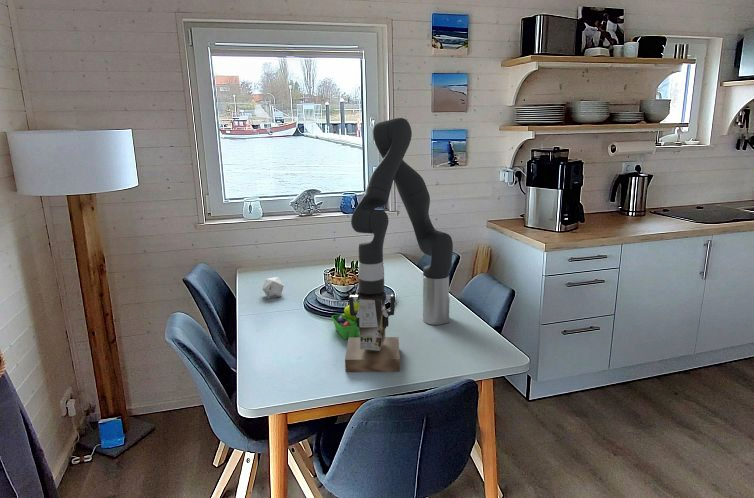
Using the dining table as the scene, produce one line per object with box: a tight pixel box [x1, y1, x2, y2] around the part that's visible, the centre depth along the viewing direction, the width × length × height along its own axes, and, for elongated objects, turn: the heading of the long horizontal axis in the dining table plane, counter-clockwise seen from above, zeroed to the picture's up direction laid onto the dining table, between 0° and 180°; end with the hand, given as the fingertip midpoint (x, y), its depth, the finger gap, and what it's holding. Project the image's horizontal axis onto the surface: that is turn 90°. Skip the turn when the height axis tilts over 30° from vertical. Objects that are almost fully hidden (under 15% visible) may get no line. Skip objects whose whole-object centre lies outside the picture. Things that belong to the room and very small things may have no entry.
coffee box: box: [358, 289, 386, 351], centre depth 153 cm, size 9×6×16 cm
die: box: [262, 276, 284, 299], centre depth 212 cm, size 8×9×10 cm
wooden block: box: [344, 336, 401, 373], centre depth 156 cm, size 16×15×4 cm
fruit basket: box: [331, 300, 360, 340], centre depth 175 cm, size 11×9×11 cm
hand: (372, 327), depth 154 cm, fingers closed on coffee box, 7 cm apart
